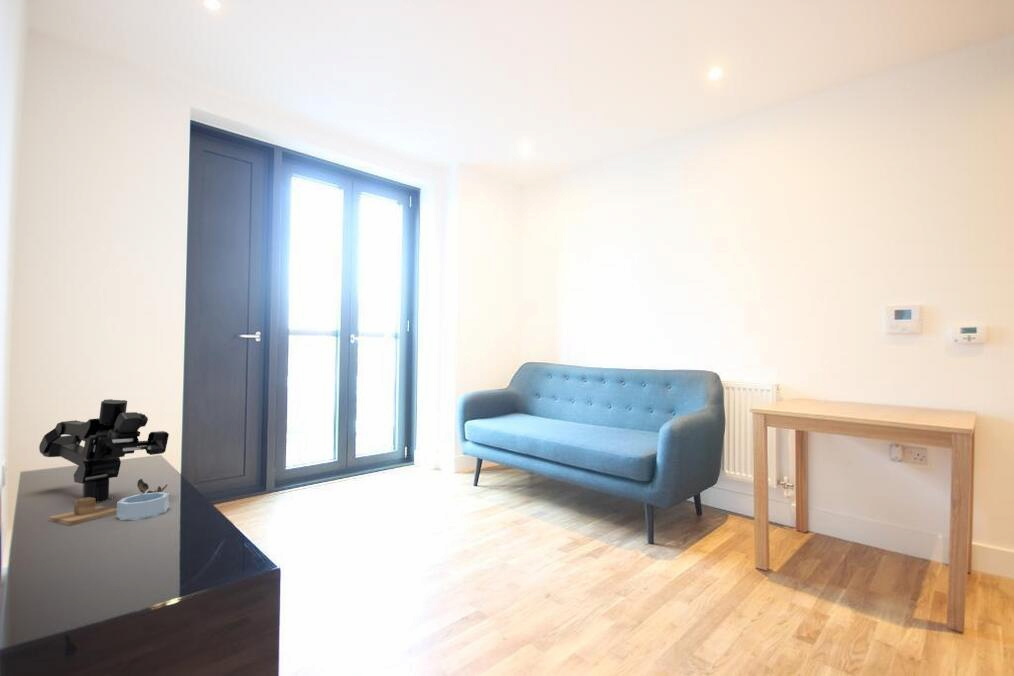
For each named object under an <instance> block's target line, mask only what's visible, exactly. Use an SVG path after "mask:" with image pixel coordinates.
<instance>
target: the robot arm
mask: <svg viewBox="0 0 1014 676" xmlns="http://www.w3.org/2000/svg"><path fill="white" fill-rule="evenodd" d="M127 406H128V400H126V399H125V400H124V399H123V400H121V399H112V398H111V399H103V400H101V402H100V409H99V416H98V417H99V418H89V419H88V420H87V421H80V420H69V421H61V422H58V423H57V424H56V425H55V428H53V429H52V430H50V431H49V432H47V433H46V434H45V435H44V436H43V437H42V439H41V441H40V444H39V447H38V448H39V450H38V451H39V453H40V454H41V455H42V456H43V457H46V458H63V459H64V460H66V461H68V462H71V463H72V464H75V465H76V466H78V467H77V468H76V471H75V472H74V474H73V480H74V481H73V482H74V483H77V484H81V485H82V498H87V497H92V498H96V501H95V502H96V503H98V502H97V501H100V502H103V501H102V500H105V501H107V500H106V499H109V500H112V499H111V498H112V497H113V499H115V498H114V497H115V496H112V497H109V496H110V495H109V494H110V479H111V478H118V476H119V472H120V468H121V463H122V461H121V458H123V457H125V455H127V454H135V451H144V450H145V452H146V454H148V455H150V456H153V455H161V454H164V453H166V450H167V444H168V441H169V436H170V434H169V433H168V432H167V431H165V430H161V431H159V430H158V431H151V432H149V433H148V437H147V440H139V438H138V437H140V436H141V431H139V429H140V428H141V427H142V428H143V427H146V425H147V423H148V422H149V418H148V417H147V415H146V414H143V413H141V412H138V411H137V412H135V411H134V412H133V411H130V412H129V411H128V412H127ZM81 442H84V446H83V445H80V444H81Z"/></svg>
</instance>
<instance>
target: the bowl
mask: <svg viewBox="0 0 1014 676" xmlns="http://www.w3.org/2000/svg"><path fill="white" fill-rule="evenodd" d="M169 508H170V492H169V493H167V492H163V491H162V492H157V491H156V492H155V493H145V494H142V493H139V494H135V495H131V496H127V497H123V498H121V499H120V500H119V501H117V502H116V509H117V514H116V518H118V520H120V521H137V520H139V521H140V520H144V519H148V518H154V517H157V516H160V515H163V514H164V513H166V512H167V511H168V509H169Z"/></svg>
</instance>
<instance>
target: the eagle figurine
mask: <svg viewBox="0 0 1014 676" xmlns="http://www.w3.org/2000/svg"><path fill="white" fill-rule="evenodd" d="M167 487H168V484H167V483H166V484H165V485H164V486H163V487H161V486H159V485H158V487H157V490H154V491H151V490H150V489H151V487H150V486H149V484H148V483H147V482H145V481H144V480H143V478H139V479H138V481H137V488H138V491H139V492H141V494H145V493H155V492H163V491H164V490H166V488H167Z"/></svg>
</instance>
